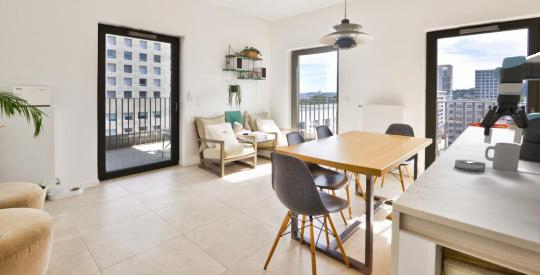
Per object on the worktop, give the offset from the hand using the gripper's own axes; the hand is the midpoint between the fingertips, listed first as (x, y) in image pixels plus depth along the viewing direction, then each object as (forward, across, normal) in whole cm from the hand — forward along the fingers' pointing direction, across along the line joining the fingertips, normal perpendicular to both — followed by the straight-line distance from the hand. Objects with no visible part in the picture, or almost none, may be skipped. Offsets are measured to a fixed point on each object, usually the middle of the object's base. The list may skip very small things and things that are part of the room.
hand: (502, 143), depth 124 cm
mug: (+11, -1, 0) cm, 11 cm away
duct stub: (+11, +13, 0) cm, 18 cm away
